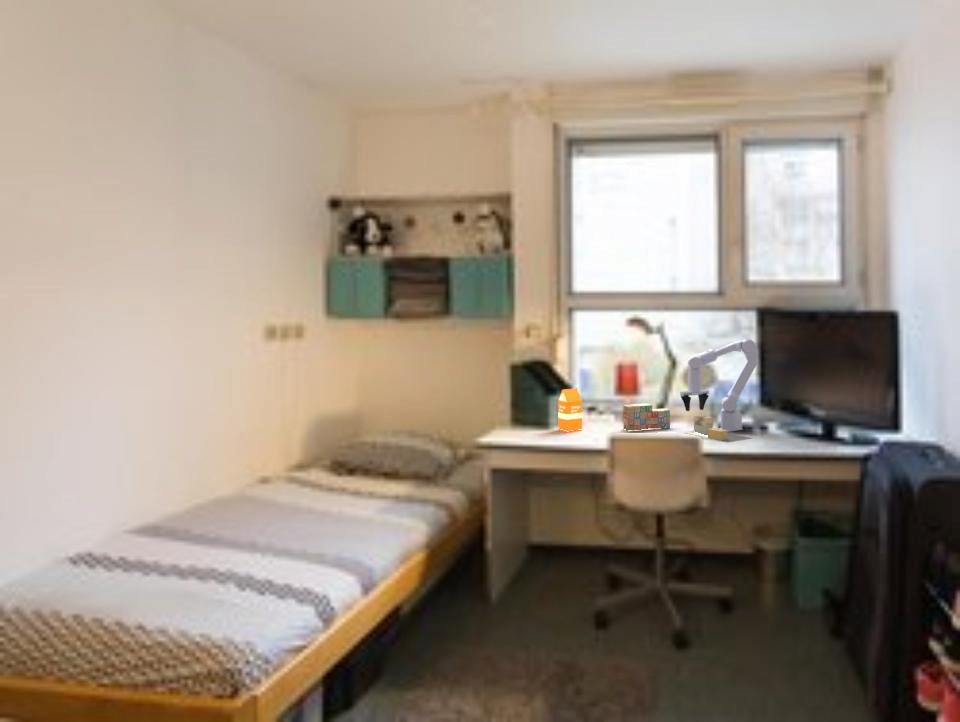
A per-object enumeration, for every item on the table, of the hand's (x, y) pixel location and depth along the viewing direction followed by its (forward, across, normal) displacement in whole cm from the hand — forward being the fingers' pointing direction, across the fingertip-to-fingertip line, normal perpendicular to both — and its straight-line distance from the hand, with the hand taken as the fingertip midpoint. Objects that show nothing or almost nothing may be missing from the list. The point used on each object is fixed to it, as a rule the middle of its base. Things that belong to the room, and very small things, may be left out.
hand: (694, 410), depth 418 cm
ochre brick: (+9, -4, -24) cm, 26 cm away
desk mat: (+9, 0, -19) cm, 21 cm away
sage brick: (+9, -3, -12) cm, 15 cm away
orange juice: (+10, -52, +26) cm, 59 cm away
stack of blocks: (+10, -19, +12) cm, 24 cm away
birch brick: (+5, -3, -12) cm, 13 cm away
